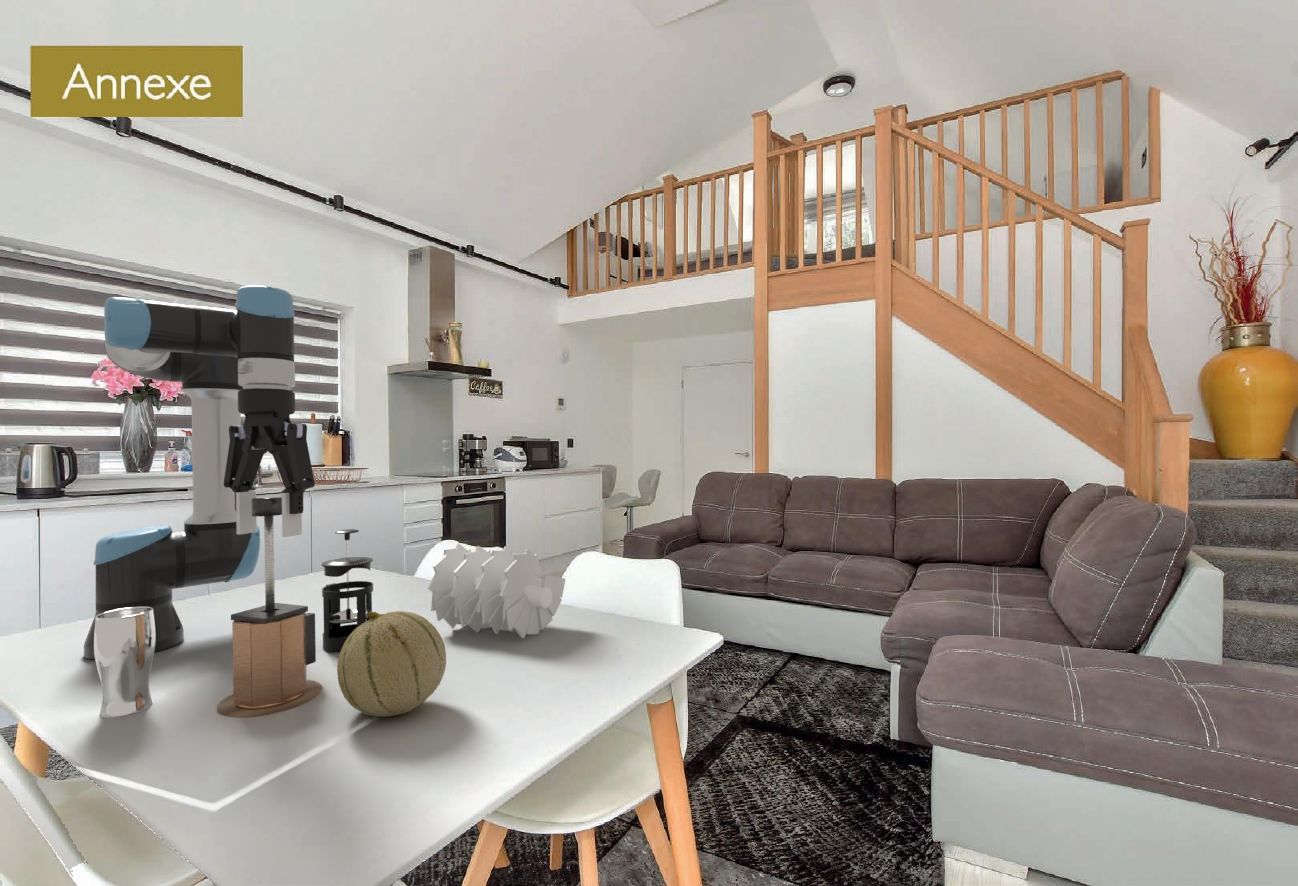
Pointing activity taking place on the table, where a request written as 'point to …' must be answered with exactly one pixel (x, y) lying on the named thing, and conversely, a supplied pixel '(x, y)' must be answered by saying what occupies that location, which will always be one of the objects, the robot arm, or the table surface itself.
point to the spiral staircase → (494, 590)
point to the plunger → (268, 541)
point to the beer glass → (124, 659)
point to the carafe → (271, 655)
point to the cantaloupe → (391, 663)
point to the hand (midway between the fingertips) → (269, 534)
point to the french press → (332, 595)
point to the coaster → (231, 710)
